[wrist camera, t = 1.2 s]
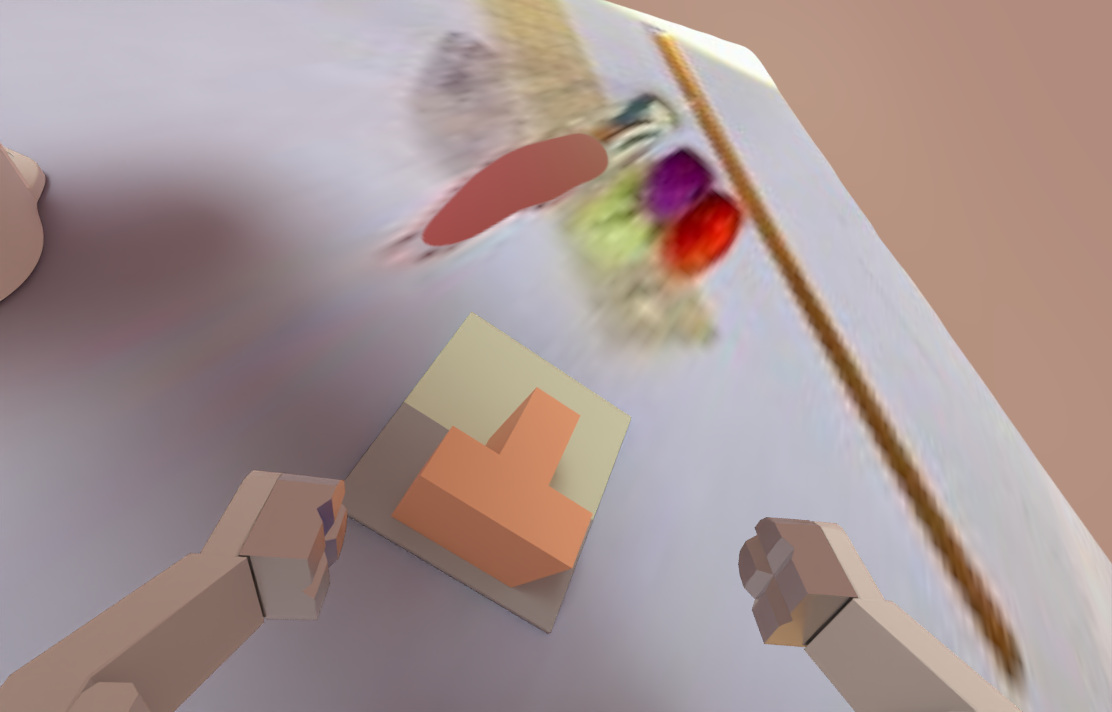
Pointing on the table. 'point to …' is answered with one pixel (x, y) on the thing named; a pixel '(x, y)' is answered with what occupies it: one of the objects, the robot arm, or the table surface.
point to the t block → (502, 496)
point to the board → (479, 410)
